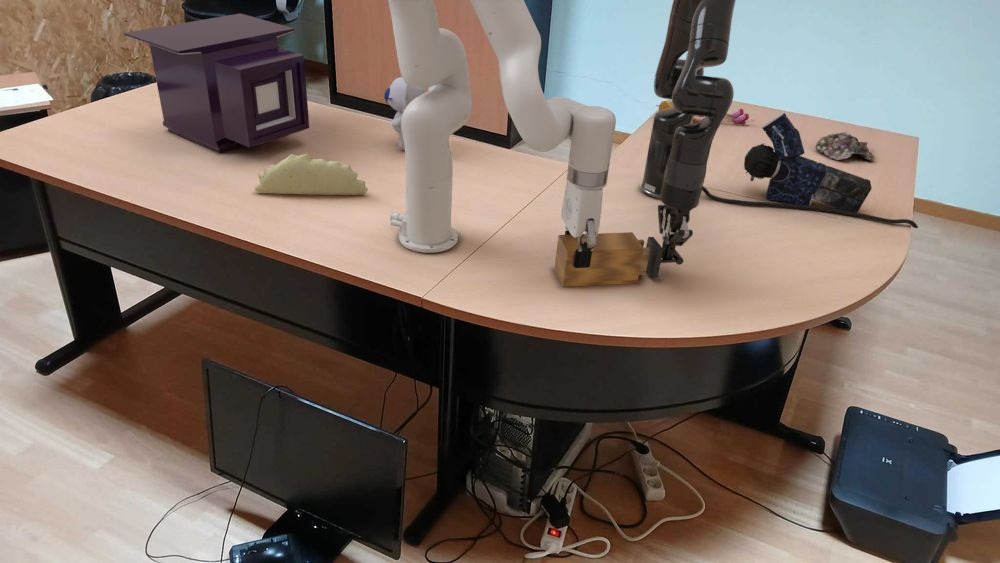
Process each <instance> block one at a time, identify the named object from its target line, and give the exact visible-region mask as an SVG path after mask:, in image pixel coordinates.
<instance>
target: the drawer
mask: <svg viewBox="0 0 1000 563" xmlns="http://www.w3.org/2000/svg"><path fill="white" fill-rule="evenodd" d="M638 241H639V242H640V243H641V245H642V246H643V248H644V250H643V256H642V261H641V266H640V271H639V276H641V275H643V276H644V275H646V274H647V271H648V273H649V274H650V276H651V277H652V278H658V277H659V273H660V269H661V268H660V267H661V265H662V264H672V263H675V264H676V265H679V266H681V265H683V263H684V262H685V261H684V260H685V259H684V258H683V257H682V256H681V254H680V253H679V252H678V250H677V249H676V248H675V251H674V255H673V259H662V254H663V249H662V245H660V243H659V242H658V240H657V239H656V238H655V237H654V236H648V237H647V240H646V246H645V240H644V239H638ZM644 246H645V247H644Z"/></svg>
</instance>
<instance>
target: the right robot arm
mask: <svg viewBox="0 0 1000 563" xmlns="http://www.w3.org/2000/svg"><path fill="white" fill-rule="evenodd" d="M736 1H737V0H672V4H671V8H670V13H669V18H668V25H667V30H666V35H665V40H664V44H663V48H662V51H661V54H660V57H659V60H658V64H657V67H656V70H655V75H654V79H653V92H654V94H655V96H656V97H658V98H661V99H665V100H671V101H672V103H673V106H674V107H672V108H668V109H664V110H660V111H659V110H658V111H657V112H656V113H655V114H654V116H653V122H652V128H651V133H650V138H649V144H648V148H647V156H646V160H645V161H646V162H645V165H644V172H643V178H642V183H641V186H640V190H641V192H642V193H643V194H645V195H646V196H649V197H651V198H655V199H660V200H659V201H660V202H661V203H662V204H659V205H657V217H658V218H657V219H658V229H659V231H658V232H659V234H660V235H661V240H662V245H661V247H662V249H663V254H662V259H673V255H674V251H675V249H676V247H682V246H684V244H685V243H687V242H688V241H689V239H690V238H691V237H692V236H693V234H694V230H693V229H689V225H688V223H689V222H690V219H691V218H690V217H691V216H690V214H691V211H692V210H694V209H695V208H697V207H698V206H699V203H700V200H701V195H702V192H703V193H704V194H705V196H706V197H708V198H709V199H711V200H713V201H716V202H720V203H724V204H725V203H726V204H735V205H743V206H756V207H772V208H775V207H776V208H786V209H787V208H788V209H789V208H790V209H799V210H800V209H801V210H810V211H819V212H826V213H833V214H838V215H839V214H840V215H844V216H845V215H846V216H850V217H857V218H862V219H866V220H871V221H875V222H881V223H885V224H886V223H887V224H894V225H895V224H897V225H898V224H907V225H910V226H911V227H912V228H913V229H919V226H918V224H917V223H916V222H915V221H914V220H912V219H908V218H899V219H898V218H897V219H891V218H886V217H879V216H875V215H870V214H865V213H861V212H858V213H855V212H850V211H845V210H841V209H838V208H832V207H825V206H816V205H811V206H808V205H798V204H790V203H785V202H768V201H751V200H749V201H748V200H742V199H734V198H733V199H731V198H723V197H719V196H717V195H714V194H711V192H710V191H709V190H708V189H707V188H706V187H705V186H704V183H705V179H706V174H707V166H708V161H709V156H710V152H711V148H712V145H713V140H714V138H715V136H716V133H717V131H718V129H719V127H720V126H721V124H722V122H723V120H725V119H724V117H725V115H726V113H727V114H728V111H729V110H730V108H731V106H732V103H733V100H734V96H735V94H734V93H735V92H734V91H735V90H734V86H733V84H732V82H731V81H730V80H729V79H727V78H725V77H719V76H710V75H709V76H708V75H705V69H704V68H712V67H718V66H720V65H722V64H724V63H725V62H726V61H727V58H728V55H729V47H730V38H731V31H732V22H733V16H734V10H735V5H736ZM685 53H687V54H686V58H685V59H684V58H683V59H682V58H681V57H682V56H683V55H685ZM694 115H698V116H697V117H699V116H704V117H703V118H702V120H700V121H699V122H695V123H693V122H694V121H693V119H695V116H694ZM705 116H706V117H705Z"/></svg>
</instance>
